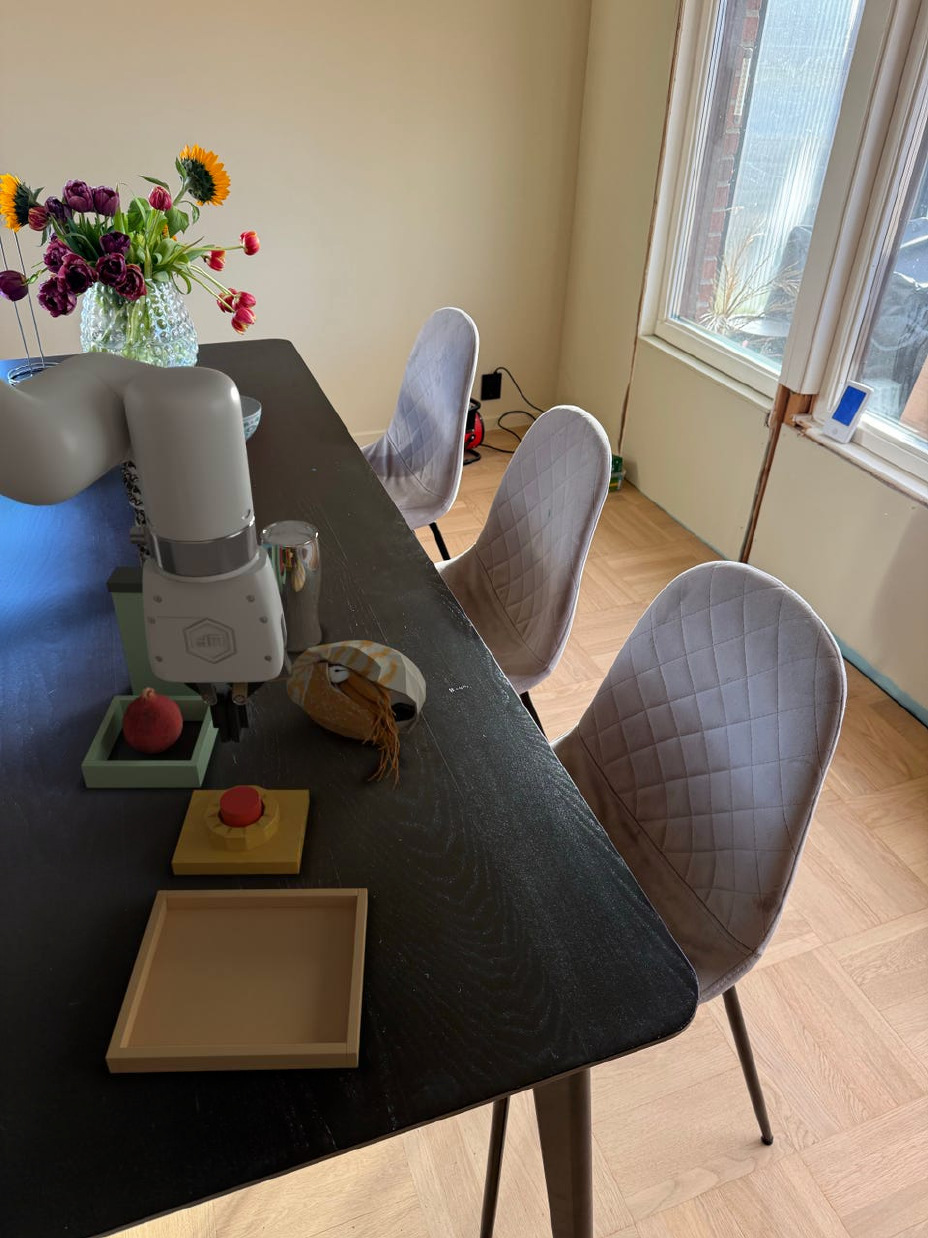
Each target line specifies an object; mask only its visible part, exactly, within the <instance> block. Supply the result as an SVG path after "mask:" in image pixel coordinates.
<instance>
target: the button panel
mask: <svg viewBox="0 0 928 1238" xmlns="http://www.w3.org/2000/svg"><path fill="white" fill-rule="evenodd" d="M238 786H239V785H236V786H233V787H231V788H234V787H238ZM248 786H249V787H252V788H254V789H256V790H257V791H258V792H259V794H260V798H261V807H262V814H261V816H260V818H259V819H258V820H257V821H256V822H255V823H253V824H251V825H249V826H246V827H236V828H235V827H231V826H228V825H227V824H225V823H224V821H223V820H222V816H221V809H220V799H221V797H222V795H223V794H224V793H225V792H226V791H228V790H229V789H231V788H227V789H194V790H193V792H192V795H191V799H190V801H189V805H188V808H187V811H186V815H185V818H184V821H183V825H182V828H181V831H180V834H179V837H178V841H177V845H176V847H175V849H174V853H173V857H172V860H171V866H172V872H173V875H174V876H181V875H183V876H185V875H186V876H188V875H189V876H191V875H195V876H196V875H293V874H294V875H295V874H297V875H298V874H299V873H300V868H301V861H302V855H303V854H302V853H303V847H304V842H305V835H306V828H307V820H308V814H309V812H308V811H309V808H310V807H309V806H310V793H309V789H266V788H264V787H261V786H259V785H248Z"/></svg>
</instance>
